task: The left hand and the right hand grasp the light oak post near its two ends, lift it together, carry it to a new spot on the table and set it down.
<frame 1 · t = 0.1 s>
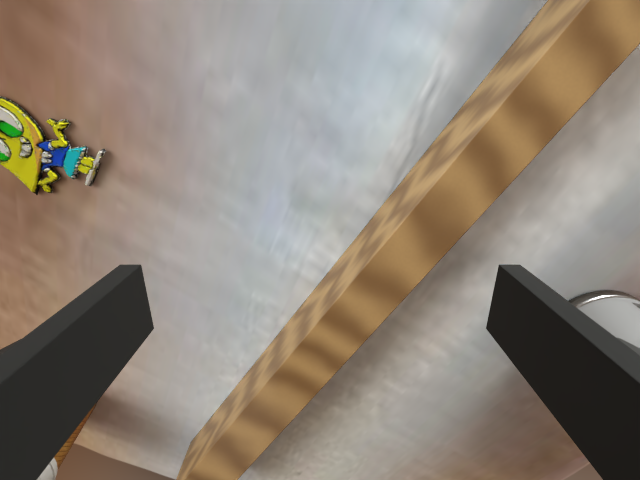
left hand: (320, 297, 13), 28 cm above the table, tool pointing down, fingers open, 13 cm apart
toy 2: (29, 145, 38), on the table
disposable coffee cup: (75, 396, 50), on the table
post: (349, 279, 44), on the table
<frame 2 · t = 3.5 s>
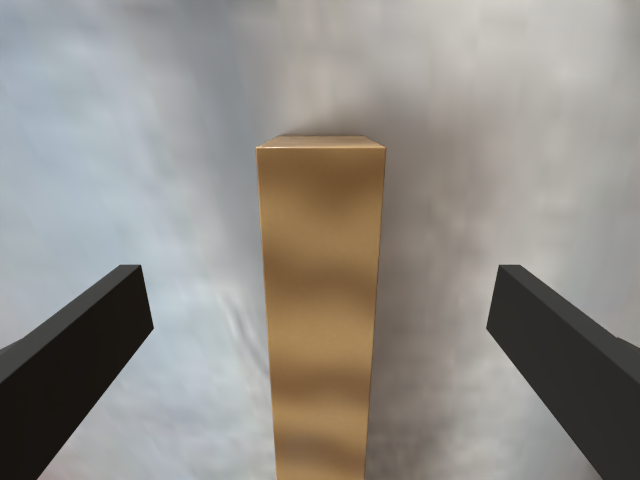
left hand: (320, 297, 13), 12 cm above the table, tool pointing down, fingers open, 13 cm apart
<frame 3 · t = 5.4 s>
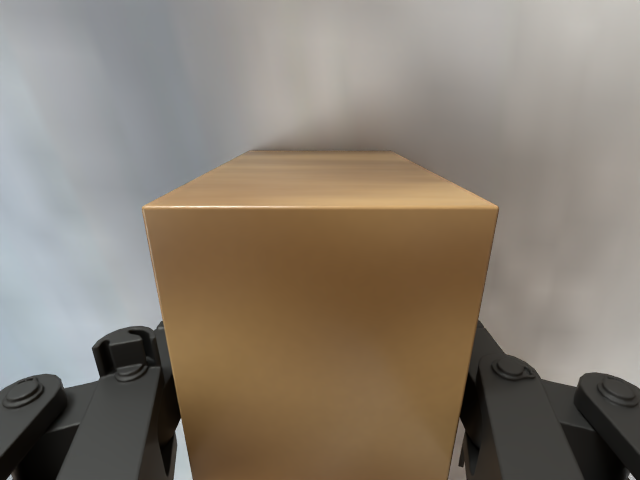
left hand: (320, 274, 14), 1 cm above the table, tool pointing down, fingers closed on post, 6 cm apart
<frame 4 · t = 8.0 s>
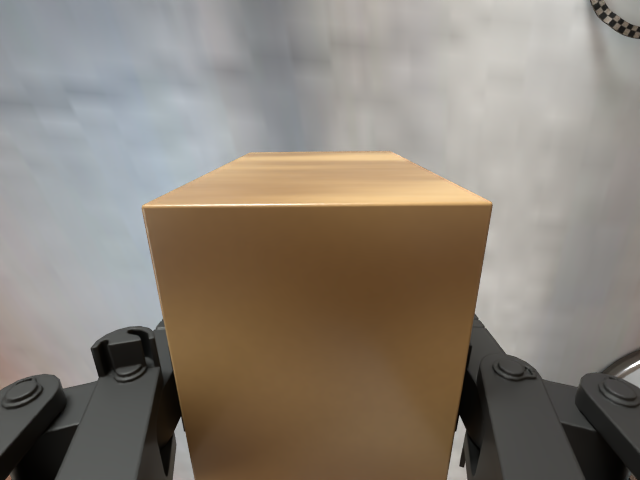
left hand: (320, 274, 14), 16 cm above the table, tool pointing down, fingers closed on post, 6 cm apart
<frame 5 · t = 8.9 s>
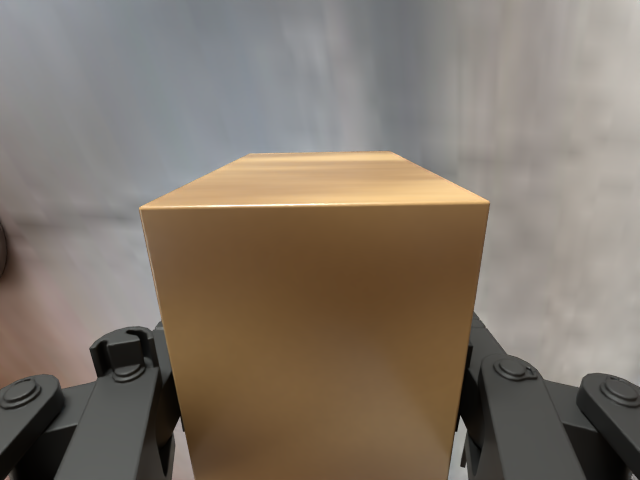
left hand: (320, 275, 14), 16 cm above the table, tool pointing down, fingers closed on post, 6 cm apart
when the left hand's fingers open (1 cm above the table, at t = 12.6 s): post stays where it is, on the table.
when the right hand's fingers open (1 cm above the table, at t = 12.6 s): post stays where it is, on the table.
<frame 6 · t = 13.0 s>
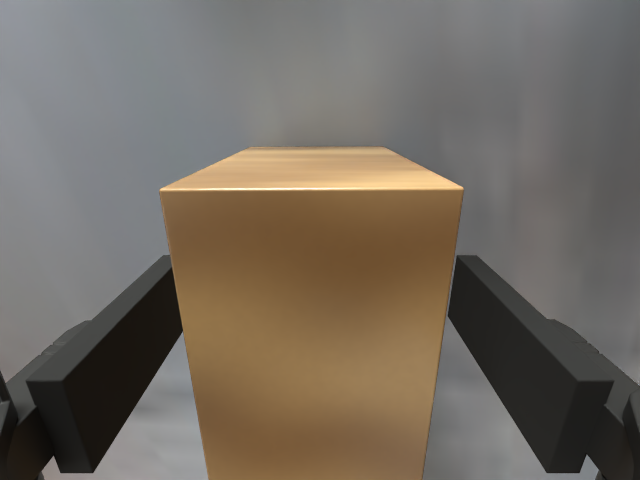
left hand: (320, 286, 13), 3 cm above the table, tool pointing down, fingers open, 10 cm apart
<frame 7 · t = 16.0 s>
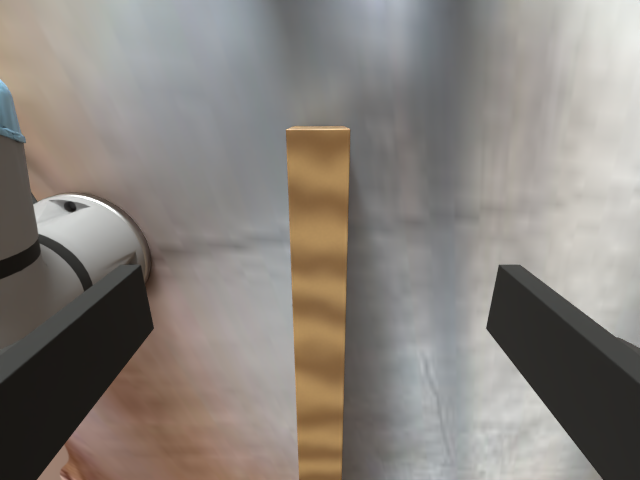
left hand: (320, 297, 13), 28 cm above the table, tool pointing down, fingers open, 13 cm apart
post: (320, 392, 50), on the table
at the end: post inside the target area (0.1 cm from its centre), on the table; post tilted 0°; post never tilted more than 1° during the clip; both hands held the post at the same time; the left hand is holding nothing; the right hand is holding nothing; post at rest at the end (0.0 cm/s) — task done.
